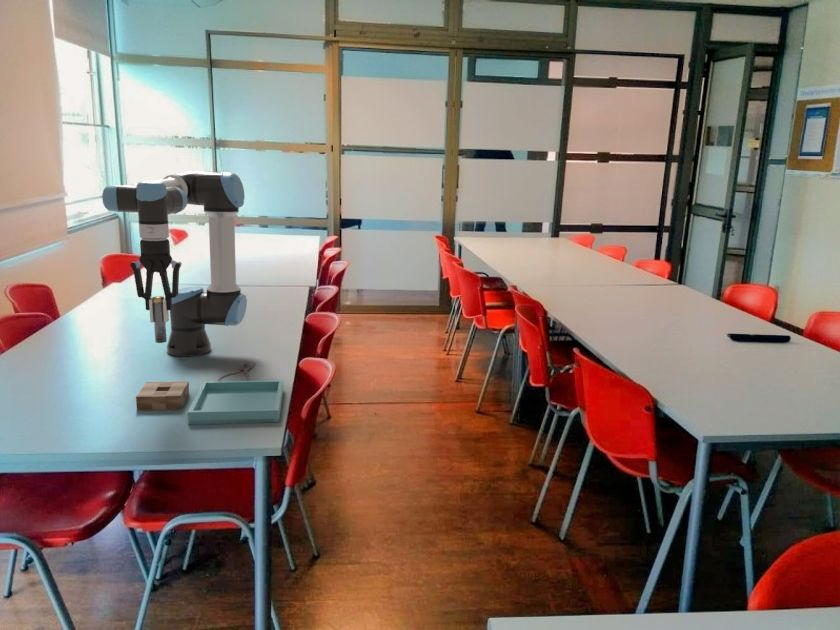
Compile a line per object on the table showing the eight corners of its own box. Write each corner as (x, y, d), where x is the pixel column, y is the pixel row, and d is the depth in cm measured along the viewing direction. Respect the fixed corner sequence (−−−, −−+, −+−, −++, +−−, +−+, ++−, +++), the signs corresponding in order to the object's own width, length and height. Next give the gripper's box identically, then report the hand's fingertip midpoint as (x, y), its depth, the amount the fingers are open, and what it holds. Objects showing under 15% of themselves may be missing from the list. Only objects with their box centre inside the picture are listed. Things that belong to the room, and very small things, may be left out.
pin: (156, 339, 186) (153, 296, 183) (167, 339, 186) (165, 296, 183) (154, 343, 183) (151, 298, 180) (165, 342, 183) (162, 298, 180)
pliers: (215, 382, 205) (226, 362, 224) (216, 385, 205) (227, 364, 224) (247, 382, 206) (255, 362, 225) (247, 385, 206) (255, 364, 225)
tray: (203, 392, 197) (202, 381, 196) (283, 390, 201) (283, 380, 200) (188, 424, 174) (187, 412, 174) (278, 422, 178) (278, 410, 177)
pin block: (147, 394, 194) (146, 382, 193) (189, 393, 196) (188, 381, 195) (136, 410, 182) (135, 396, 181) (181, 409, 184) (180, 395, 183)
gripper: (119, 240, 172) (126, 324, 178) (182, 241, 175) (186, 324, 181) (127, 236, 180) (133, 317, 185) (187, 237, 182) (191, 317, 188)
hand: (159, 321), depth 183 cm, fingers closed on pin, 3 cm apart
